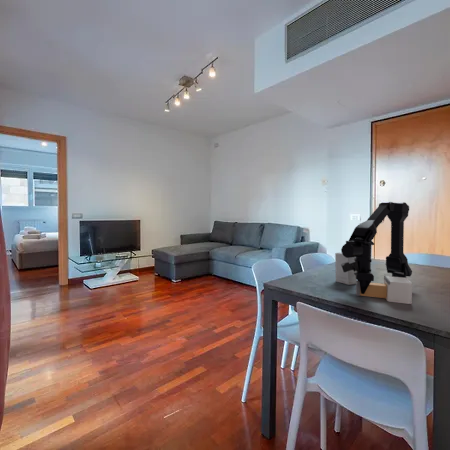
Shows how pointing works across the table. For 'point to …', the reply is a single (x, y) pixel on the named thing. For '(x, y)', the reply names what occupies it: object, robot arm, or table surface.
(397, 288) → the block
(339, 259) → the skincare box
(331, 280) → the table surface
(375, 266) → the table surface
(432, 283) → the table surface
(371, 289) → the plug
